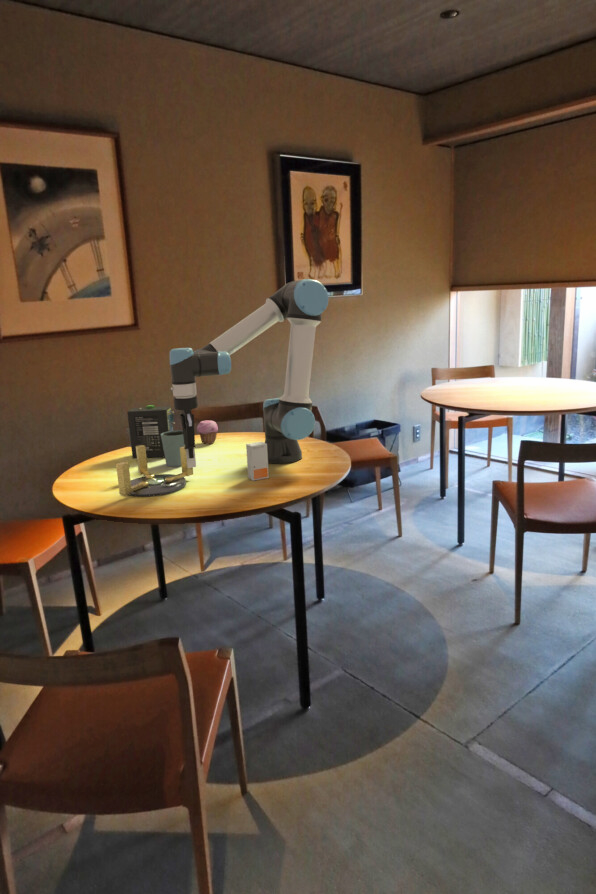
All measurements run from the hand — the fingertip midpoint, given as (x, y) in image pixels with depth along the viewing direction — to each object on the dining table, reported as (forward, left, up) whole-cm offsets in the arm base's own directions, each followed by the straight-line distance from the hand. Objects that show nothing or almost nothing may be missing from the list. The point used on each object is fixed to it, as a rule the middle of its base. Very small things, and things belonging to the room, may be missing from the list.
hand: (191, 466), depth 202 cm
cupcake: (+32, -50, -6) cm, 59 cm away
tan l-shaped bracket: (+4, +2, -4) cm, 6 cm away
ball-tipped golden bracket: (+9, +17, -4) cm, 20 cm away
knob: (+17, +4, -4) cm, 18 cm away
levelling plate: (+9, +8, -6) cm, 14 cm away
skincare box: (-18, -13, -6) cm, 23 cm away
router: (+40, -25, -6) cm, 47 cm away
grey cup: (+22, -18, -6) cm, 29 cm away
